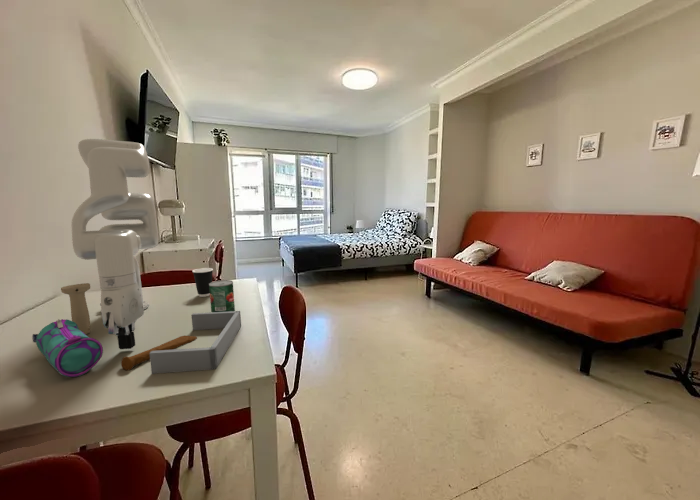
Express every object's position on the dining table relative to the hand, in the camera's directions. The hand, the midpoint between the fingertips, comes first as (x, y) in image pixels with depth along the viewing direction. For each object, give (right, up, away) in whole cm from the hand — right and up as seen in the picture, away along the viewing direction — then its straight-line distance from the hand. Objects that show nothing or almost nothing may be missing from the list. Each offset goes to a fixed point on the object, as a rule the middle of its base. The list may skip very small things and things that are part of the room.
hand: (127, 347), depth 81 cm
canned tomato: (+14, +3, +28) cm, 31 cm away
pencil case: (-10, -2, -6) cm, 12 cm away
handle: (-21, 0, +11) cm, 24 cm away
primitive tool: (+9, -2, 0) cm, 9 cm away
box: (+19, 0, +2) cm, 19 cm away
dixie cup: (-3, +7, +49) cm, 49 cm away
